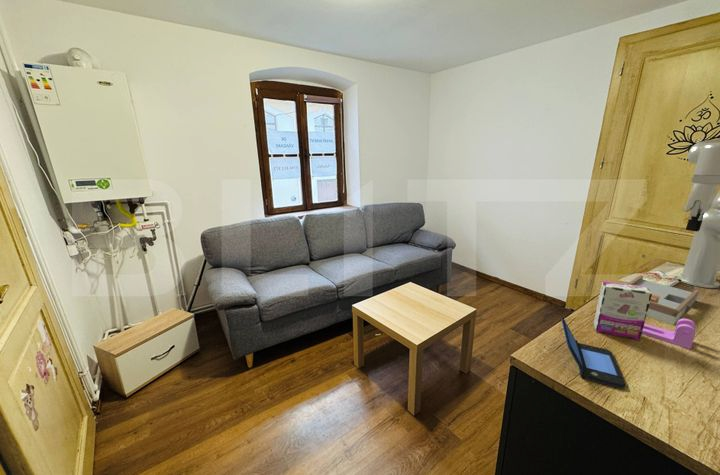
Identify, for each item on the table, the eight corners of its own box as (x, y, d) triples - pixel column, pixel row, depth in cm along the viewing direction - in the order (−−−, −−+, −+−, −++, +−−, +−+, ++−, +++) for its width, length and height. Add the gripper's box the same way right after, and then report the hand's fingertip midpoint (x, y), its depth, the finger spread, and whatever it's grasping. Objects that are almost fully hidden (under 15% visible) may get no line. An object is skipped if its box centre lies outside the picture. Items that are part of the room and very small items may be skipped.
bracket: (690, 341, 89) (697, 321, 87) (690, 349, 86) (697, 329, 84) (633, 324, 99) (638, 305, 97) (631, 331, 95) (636, 312, 93)
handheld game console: (626, 391, 72) (634, 360, 70) (561, 374, 79) (567, 345, 76) (610, 353, 86) (617, 326, 83) (556, 341, 92) (561, 315, 89)
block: (639, 297, 109) (641, 290, 108) (657, 303, 105) (660, 295, 104) (634, 301, 106) (636, 294, 106) (653, 307, 102) (655, 299, 101)
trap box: (637, 284, 125) (640, 273, 124) (695, 300, 111) (700, 287, 110) (610, 303, 111) (613, 290, 110) (673, 324, 97) (677, 310, 96)
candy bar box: (634, 332, 94) (647, 286, 90) (640, 341, 90) (653, 293, 85) (591, 324, 99) (601, 280, 95) (595, 331, 95) (605, 286, 90)
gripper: (697, 177, 109) (683, 225, 114) (686, 181, 101) (671, 231, 107) (729, 179, 103) (712, 229, 108) (719, 182, 95) (702, 236, 101)
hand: (692, 230), depth 107 cm, fingers closed
